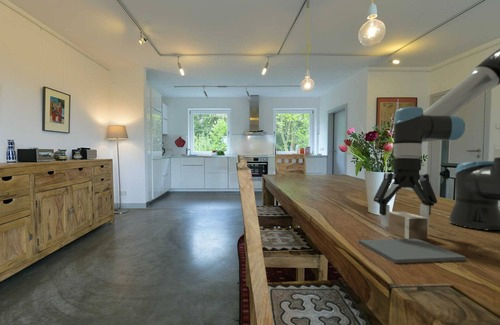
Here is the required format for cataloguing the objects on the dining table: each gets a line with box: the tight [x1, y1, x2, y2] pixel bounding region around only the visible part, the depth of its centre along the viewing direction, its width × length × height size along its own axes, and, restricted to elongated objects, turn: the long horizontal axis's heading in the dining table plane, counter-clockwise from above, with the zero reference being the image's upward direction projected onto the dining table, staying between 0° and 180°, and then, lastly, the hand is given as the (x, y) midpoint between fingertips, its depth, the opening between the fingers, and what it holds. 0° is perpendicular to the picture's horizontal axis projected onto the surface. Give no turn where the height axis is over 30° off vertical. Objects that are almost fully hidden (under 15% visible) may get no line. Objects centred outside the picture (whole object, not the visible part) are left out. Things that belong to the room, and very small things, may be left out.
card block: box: [385, 211, 428, 240], centre depth 80 cm, size 6×10×6 cm, turn 8°
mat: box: [358, 238, 467, 264], centre depth 64 cm, size 18×14×1 cm
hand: (404, 225), depth 80 cm, fingers open, 13 cm apart
